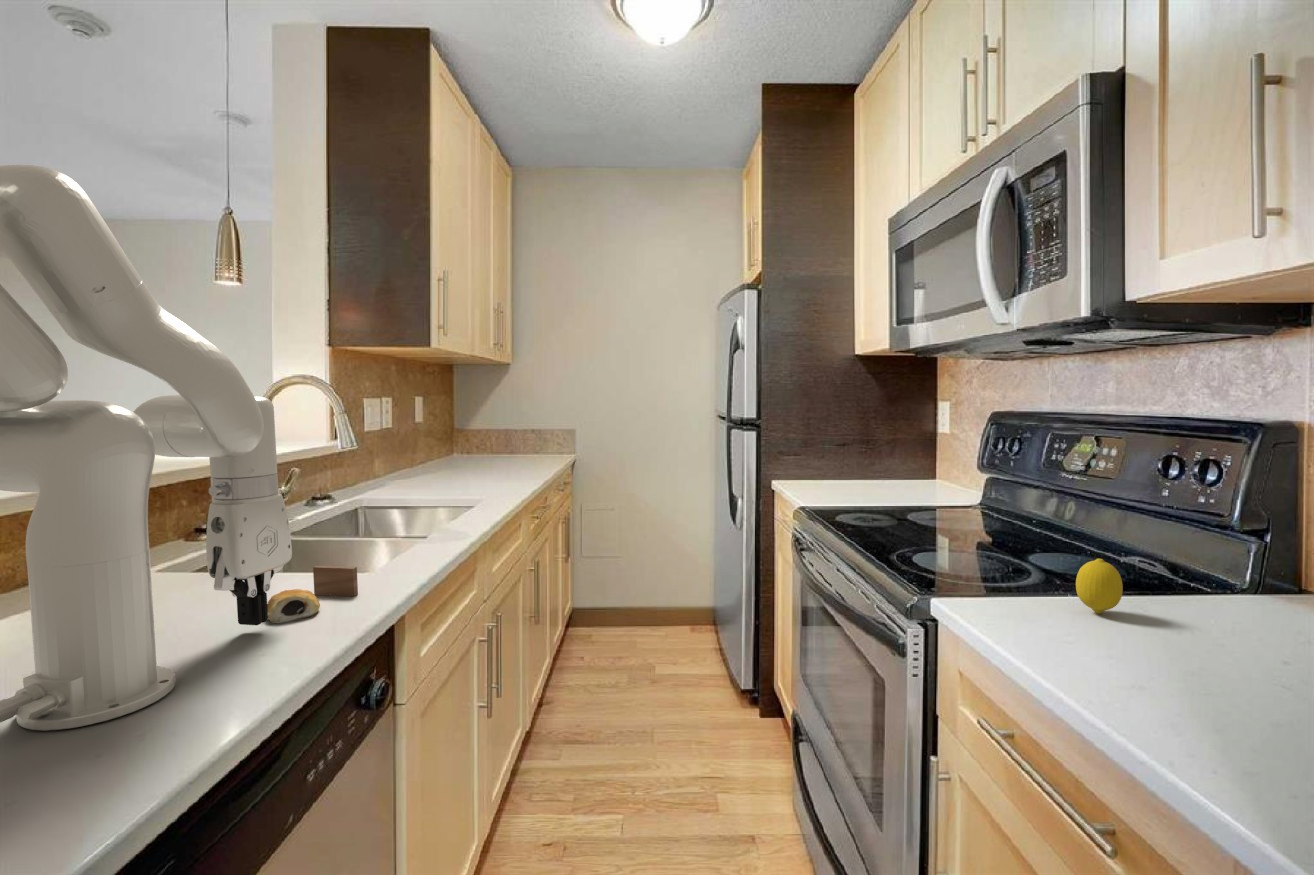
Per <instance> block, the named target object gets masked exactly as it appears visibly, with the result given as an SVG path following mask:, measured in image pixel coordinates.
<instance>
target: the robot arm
mask: <svg viewBox="0 0 1314 875" xmlns="http://www.w3.org/2000/svg"><path fill="white" fill-rule="evenodd" d="M0 260H10V262H11V263H12V264H13V266H14V267H15V268H16V269H17V271H18V272H19V273H20V275H21V276H22V277H23V278H24V280H25V281H26V283H28V285H29V286H30V287H31V289H32V290H33V291H34V293H35V294H36V295H37V296H38V298H39V300H41V302H42V303H43V305H44V306H45V307H46V308H47V310H48V312H50V314H51V315H52V316H53V318H55V320H56V321H57V323H58V324H59V325H60V327H61V328H62V329H63V331H64V332H65V333H66V335H67V336H69V338H71V339H72V340H73V341H74V342H77V344H81V345H82V346H84V347H87V348H89V349H91V350H93V351H96V352H98V353H100V354H103V355H104V356H108V357H110V358H114V359H116V360H119V361H121V362H124V363H127V364H129V365H132V366H134V367H137V368H138V369H139V368H140V369H141V370H144V371H145V372H147V373H150V374H151V375H152V376H154V377H156V378H158V379H159V380H161V381H162V382H164V383H165V384H166V385H168V386H169V387H171V389H173V390H175V392H176V393H178V395H177V394H176V395H174V394H171V395H161V396H157V397H154V398H150V399H147V400H146V401H145V402H142V403H141V404H140V405H138V406H137V407H136V408H135V410H134V411H133V410H130V409H127V408H126V407H124V406H121V405H119V404H116V403H110V402H106V401H100V400H99V401H98V400H85V399H84V400H81V399H80V400H78V399H77V400H67V399H66V400H54V399H55V398H56V397H57V396H58V395H59V394H61V392H62V391H63V390H64V389H65V387H66V385H67V383H68V382H67V381H68V377H69V371H68V364H67V362H66V359H65V357H64V355H63V353H62V352H61V351H60V349H59V347H58V346H57V345H56V344H55V342H54V341H53V339H52V338H50V336H49V335H48V334H47V333H46V332H45V331H44V330H43V328H41V326H39V324H38V323H37V322H36V321H35V320H34V319H33V318H32V317H31V316H30V315H29V314H28V312H27V311H26V310H25V309H24V308H23V306H21V305H20V304H19V302H17V301H16V299H15V298H14V297H13V296H12V295H11V294H10V293H9V291H7V289H5V287H4V286H3V285H2V284H1V283H0V491H3V492H14V493H35V494H36V493H38V496H37V499H36V502H35V506H34V508H33V510H32V512H31V516H30V518H29V521H28V523H27V524H28V525H27V530H26V534H25V559H26V560H25V561H26V566H27V567H26V568H27V580H28V593H29V594H28V596H29V606H30V620H31V621H30V622H31V633H32V645H33V660H34V673H33V674H31V675H28V676H24V677H23V678H22V682H23V688H20V689H18V690H17V691H16V692H15V694H14V695H13V696H11V697H9V698H8V697H7V698H4V699H0V723H3V722H6V721H7V720H10V719H12V718H14V716H16V723H17V724H18V726H20V727H22V728H24V729H27V730H32V731H59V730H67V729H74V728H79V727H84V726H90V725H95V724H98V723H99V724H100V723H103V722H107V721H111V720H113V719H117V718H120V717H122V716H126V715H129V714H131V713H134V712H136V711H139V710H142V709H143V708H146V707H148V706H150V705H151V704H154V703H156V702H158V701H160V700H161V699H162V698H164V697H165V696H166V695H168V694H169V693H170V692H171V691H173V689H174V688H175V686H176V673H175V672H174V670H172V669H171V668H168V667H165V666H159V665H158V664H157V651H156V650H157V648H156V635H155V634H156V633H155V632H156V631H155V620H154V619H155V618H154V616H155V615H154V600H153V588H152V587H153V586H152V583H153V582H152V570H151V568H152V567H151V553H150V552H151V551H150V550H151V549H150V540H149V520H148V519H149V518H148V517H149V516H148V515H149V509H148V508H149V494H150V488H151V487H150V486H151V480H152V475H153V471H154V465H155V464H154V463H155V459H156V457H155V456H161V457H167V458H209V470H210V471H209V472H210V474H209V475H210V487H209V488H208V494H209V495H210V496H211V503H210V504H209V508H208V514H207V524H206V539H205V540H206V548H205V550H206V565H207V566H206V567H207V571H208V574H209V576H210V578H212V579H214V583H213V590H215V591H222V592H223V591H224V592H228V591H229V592H230V593H231V596H232V597H234V598H235V597H236V608H237V612H236V613H237V623H238V624H239V625H241V626H242V625H243V626H258V625H261V624H262V623H265V622H267V621H268V620H269V619H268V609H267V604H268V593H267V592H269V591H270V589H271V582H272V578H273V577H274V575H275V574H277V573H278V572H279V571H281V570H282V569H283V567H284V566H285V565H287V564H288V563H289V562H290V561H291V559H292V556H293V551H292V548H293V547H292V539H291V538H292V537H291V530H290V529H291V528H290V523H289V522H290V521H289V516H288V512H287V507H286V504H285V501H284V497H283V494H281V493H279V480H278V479H279V478H278V462H277V458H278V457H277V445H276V444H277V441H276V440H277V439H276V426H275V423H276V422H275V409H274V408H275V407H274V404H273V403H272V400H270V399H269V398H267V397H265V396H259V395H254V394H253V392H252V390H251V388H250V387H249V385H248V384H247V382H246V380H245V378H244V377H243V375H242V374H241V372H240V371H239V370H238V368H237V366H235V364H234V363H233V361H231V360H230V358H229V357H228V356H227V355H225V353H224V352H222V351H221V349H219V347H217V346H216V345H215V344H213V343H211V342H210V341H209V340H208V339H207V338H205V337H204V336H202V335H201V334H200V333H199V332H197V331H196V330H195V329H193V328H192V327H191V326H189V325H188V324H187V323H185V322H184V321H182V320H181V319H179V318H177V317H176V316H175V315H173V314H172V313H170V312H169V311H167V310H166V309H165V308H164V307H162V306H161V304H159V303H158V301H157V300H156V298H155V297H154V295H152V293H151V291H150V290H149V288H148V286H147V285H146V283H145V282H144V280H143V279H142V277H141V276H140V275H139V273H138V271H137V269H136V268H135V267H134V265H133V264H132V262H131V260H130V258H128V256H127V254H126V253H125V251H124V250H123V248H122V246H121V244H119V242H118V240H117V239H116V236H115V235H114V234H113V232H112V230H111V228H110V227H109V226H108V224H107V223H106V222H105V219H104V218H103V217H102V215H101V214H100V212H99V210H98V209H97V207H96V206H95V204H94V202H93V201H92V200H91V198H90V197H89V195H88V194H87V193H86V192H85V190H84V189H83V188H82V187H81V186H80V185H79V184H78V183H77V182H76V181H75V180H74V179H72V178H71V177H69V176H68V175H66V174H65V173H62V172H60V171H58V170H56V169H53V168H49V167H44V166H39V165H29V164H11V165H10V164H8V165H6V164H5V165H0Z"/></svg>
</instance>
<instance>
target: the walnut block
mask: <svg viewBox="0 0 1314 875" xmlns="http://www.w3.org/2000/svg"><path fill="white" fill-rule="evenodd" d="M312 570H313V571H312V575H313V594H314V595H315V596H336V597H337V596H339V597H356V596H358V595H359V592H358V591H359V589H358V588H359V587H358V585H359V584H358V567H357V566H341V565H339V566H337V565H335V566H334V565H333V566H332V565H316V566H313V567H312Z"/></svg>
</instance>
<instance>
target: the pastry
mask: <svg viewBox="0 0 1314 875" xmlns="http://www.w3.org/2000/svg"><path fill="white" fill-rule="evenodd" d="M320 607H321V604H320V601H319V598H318V597H317V595H314V592H312V591H311V590H308V589H307V590H306V589H301V588H295V589H288V590H282V591H280V592H278V593H276V594H274V595H272V596H271V597H270V599H268V600H267V609H268V620H269V621H270V623H272V622H273V623H272V624H277V622H279V623H286V622H291V621H295V620H299V619H300V620H301V619H304V618H309V617H311V616H314V615H316V614H317V613H318V612H319V609H320Z"/></svg>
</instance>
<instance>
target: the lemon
mask: <svg viewBox="0 0 1314 875" xmlns="http://www.w3.org/2000/svg"><path fill="white" fill-rule="evenodd" d="M1123 587H1124V586H1123V580H1122V577H1121V575H1120V573H1119V571H1118V570H1117V568H1115V566H1113V565H1112V564H1111V563H1109V562H1106V561H1105V560H1104V559H1103V558H1096V559H1095V560H1091V561H1088V562H1086V563H1085V564H1083V565H1082V566H1081V567H1079V570H1078V572H1077V575H1076V579H1075V590H1076V594H1077V597H1078V598H1079V600H1080V602H1082V603H1083V604H1084V605H1085V606H1086V607H1088V608H1090V609H1091V610H1092V611H1093V612H1094V614H1099V615H1100V614H1102V613H1103V612H1105V611H1108V610H1111V609H1113V608H1115V607H1117V605H1118V604H1119V603H1120V601H1121V599H1122V596H1123V589H1124V588H1123Z"/></svg>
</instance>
